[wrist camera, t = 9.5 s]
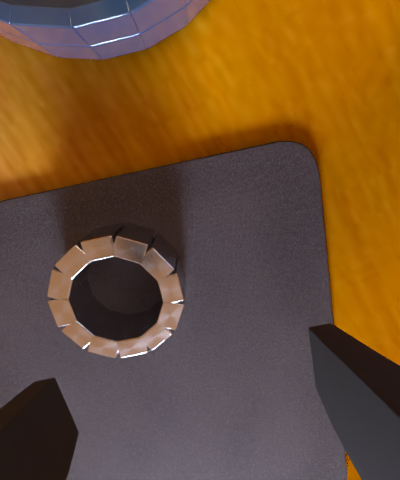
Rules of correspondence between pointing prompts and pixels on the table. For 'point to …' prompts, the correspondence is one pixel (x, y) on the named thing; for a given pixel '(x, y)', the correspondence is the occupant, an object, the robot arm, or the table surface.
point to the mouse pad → (185, 320)
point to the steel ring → (107, 321)
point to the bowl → (94, 25)
